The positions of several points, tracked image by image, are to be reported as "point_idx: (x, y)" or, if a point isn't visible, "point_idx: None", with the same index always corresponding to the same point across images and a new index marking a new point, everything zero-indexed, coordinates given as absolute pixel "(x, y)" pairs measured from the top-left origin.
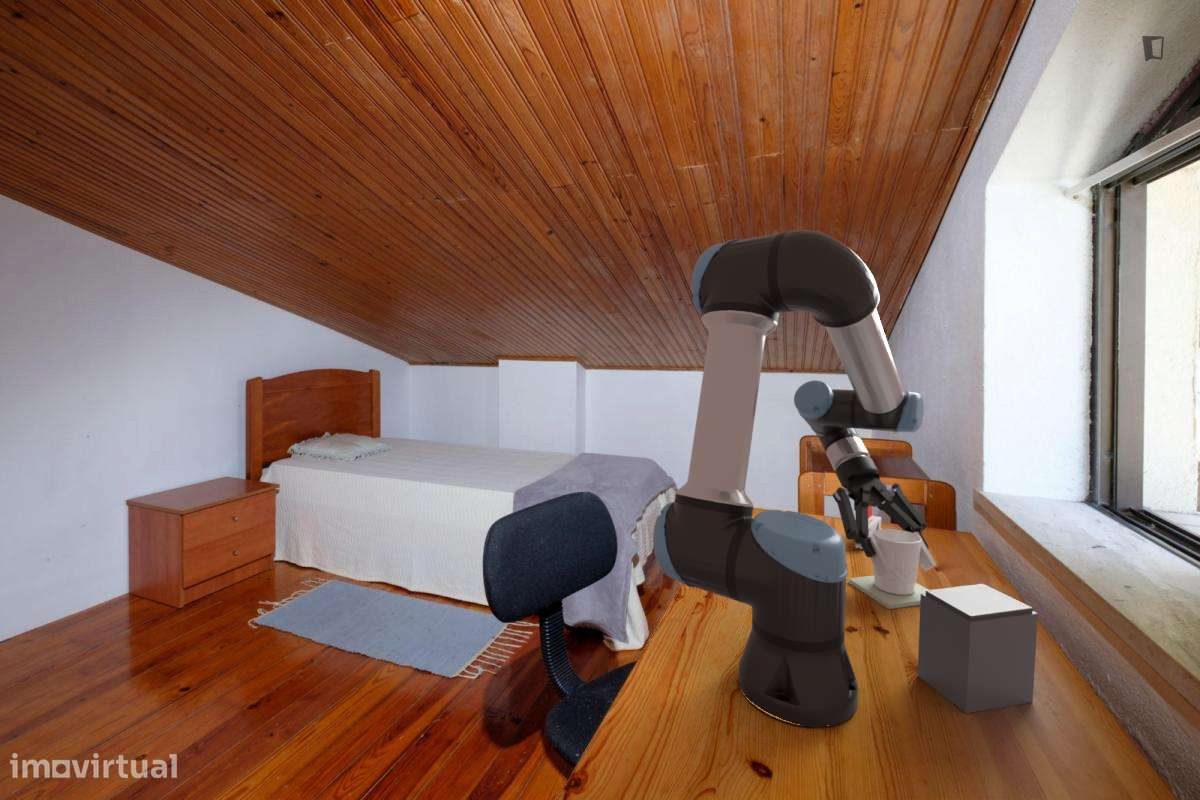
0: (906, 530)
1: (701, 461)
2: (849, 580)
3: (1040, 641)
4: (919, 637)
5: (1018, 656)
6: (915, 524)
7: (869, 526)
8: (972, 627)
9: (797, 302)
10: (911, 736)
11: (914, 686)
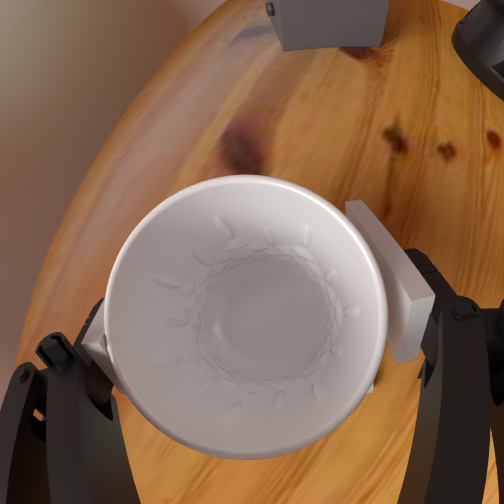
0: (112, 416)
1: None
2: (371, 387)
3: (132, 109)
4: (388, 3)
5: None
6: (55, 384)
7: None
8: None
9: None
10: (411, 9)
11: (390, 38)
